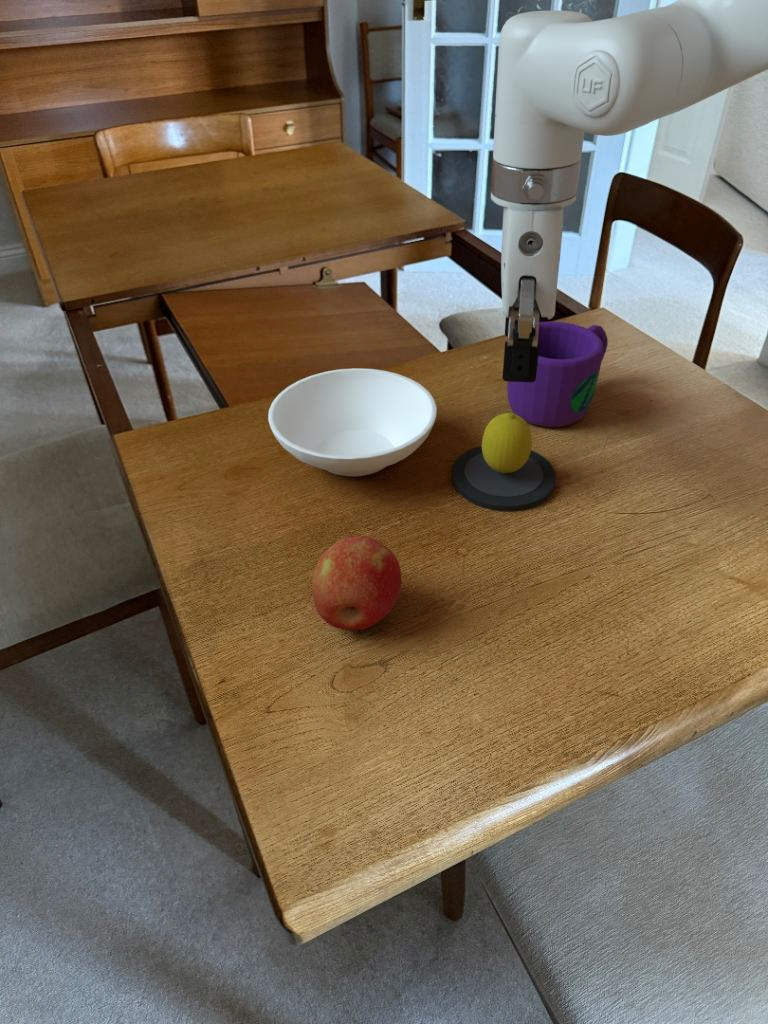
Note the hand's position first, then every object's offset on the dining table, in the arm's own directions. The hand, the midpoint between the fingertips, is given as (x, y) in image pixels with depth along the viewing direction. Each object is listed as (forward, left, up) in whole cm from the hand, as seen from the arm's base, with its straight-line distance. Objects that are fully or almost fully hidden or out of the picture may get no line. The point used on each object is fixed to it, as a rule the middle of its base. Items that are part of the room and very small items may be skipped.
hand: (519, 357), depth 76 cm
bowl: (+18, +1, -16) cm, 24 cm away
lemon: (0, 0, -15) cm, 15 cm away
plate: (0, 0, -16) cm, 16 cm away
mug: (-4, -19, -16) cm, 25 cm away
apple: (+9, +25, -16) cm, 31 cm away
